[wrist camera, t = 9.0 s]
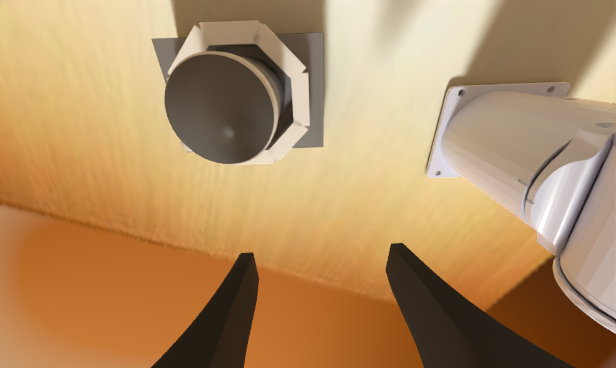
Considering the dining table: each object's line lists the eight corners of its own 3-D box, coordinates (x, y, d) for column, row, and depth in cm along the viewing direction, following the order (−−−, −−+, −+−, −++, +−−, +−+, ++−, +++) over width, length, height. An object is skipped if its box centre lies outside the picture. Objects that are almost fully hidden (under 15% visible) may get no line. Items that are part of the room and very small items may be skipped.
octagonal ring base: (320, 28, 15) (326, 17, 11) (320, 140, 19) (325, 161, 15) (174, 33, 15) (130, 24, 11) (205, 144, 19) (180, 167, 15)
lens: (300, 94, 14) (298, 114, 9) (257, 143, 16) (234, 183, 11) (243, 35, 13) (200, 18, 8) (201, 96, 14) (141, 116, 9)
